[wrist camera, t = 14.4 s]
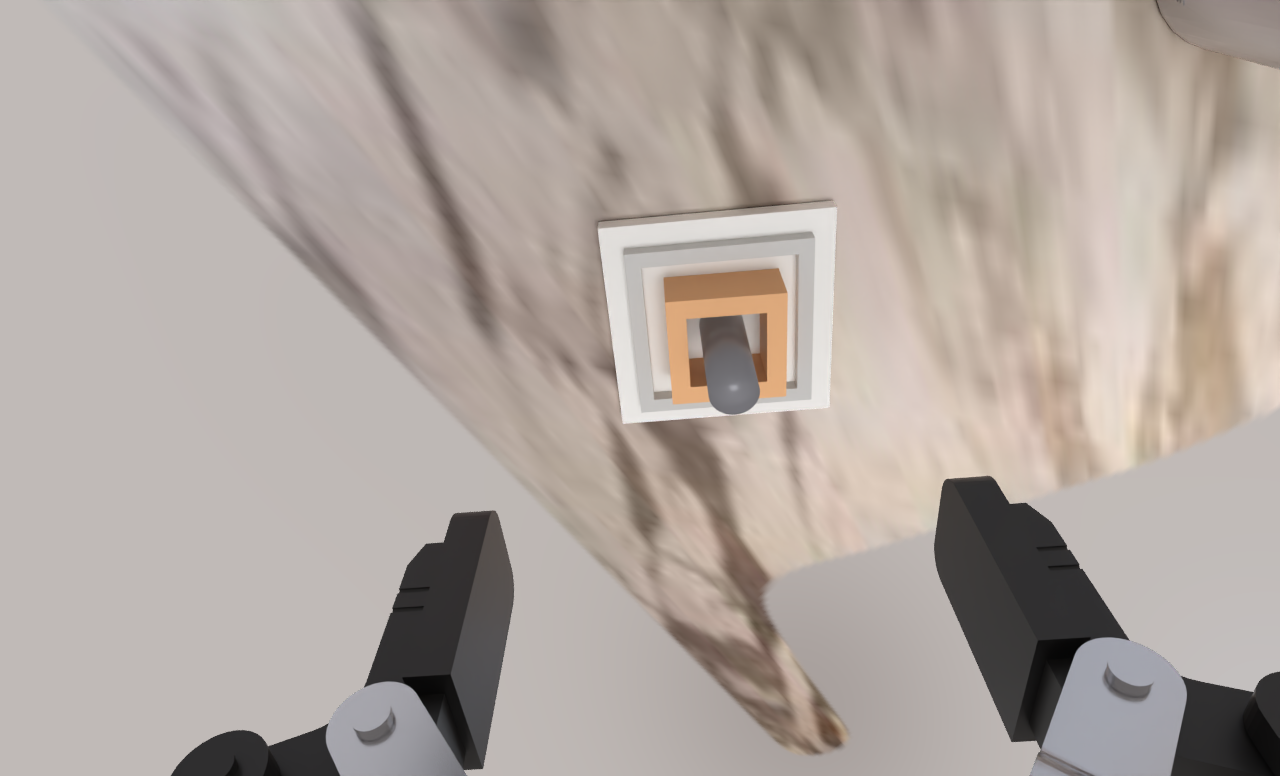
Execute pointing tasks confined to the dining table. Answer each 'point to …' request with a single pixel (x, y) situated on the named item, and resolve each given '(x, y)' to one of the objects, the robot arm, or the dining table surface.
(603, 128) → the dining table surface
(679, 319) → the ring
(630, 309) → the post base
